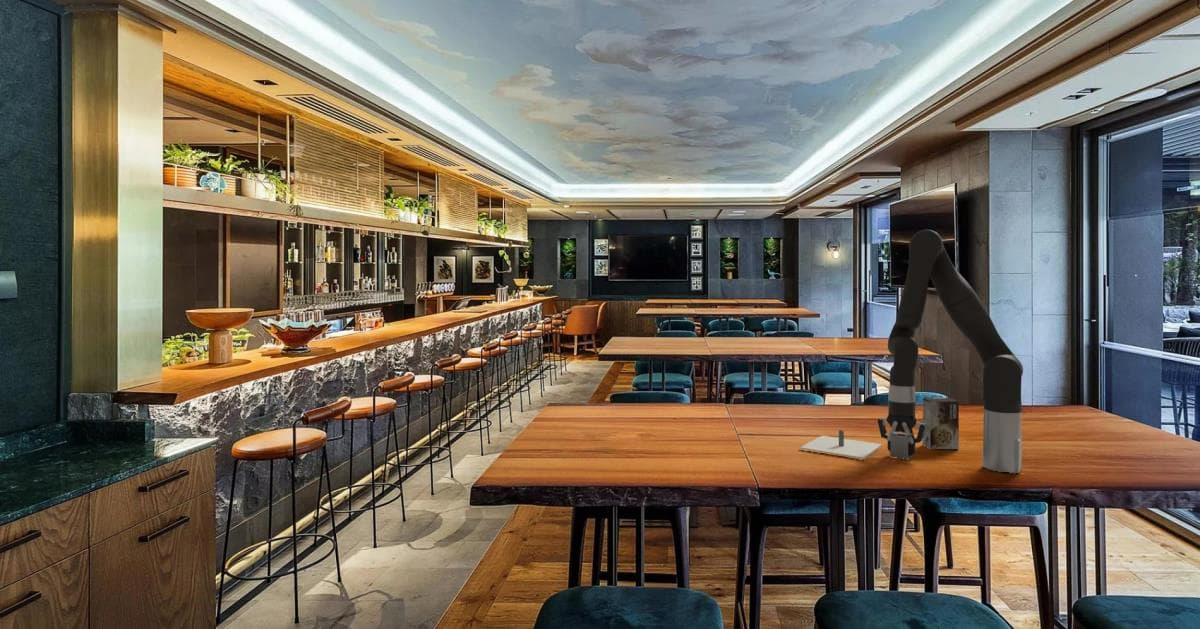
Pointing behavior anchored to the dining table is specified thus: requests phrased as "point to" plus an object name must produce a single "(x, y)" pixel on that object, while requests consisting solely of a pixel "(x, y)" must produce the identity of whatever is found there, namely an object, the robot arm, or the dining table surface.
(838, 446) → the pin plate
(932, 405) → the coffee box
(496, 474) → the dining table surface
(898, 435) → the block
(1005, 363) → the robot arm
